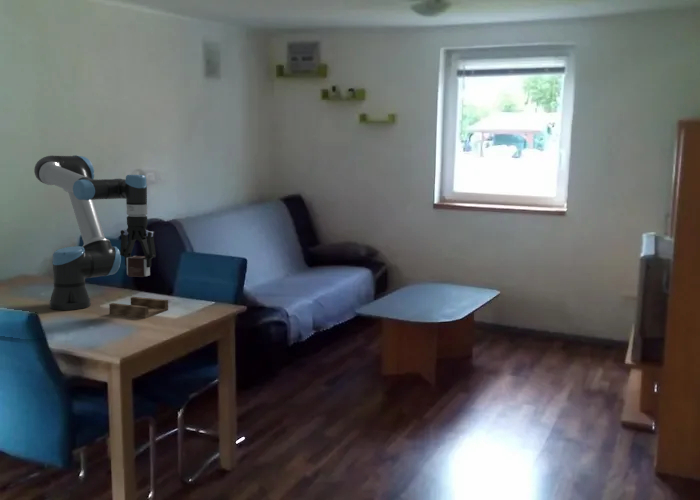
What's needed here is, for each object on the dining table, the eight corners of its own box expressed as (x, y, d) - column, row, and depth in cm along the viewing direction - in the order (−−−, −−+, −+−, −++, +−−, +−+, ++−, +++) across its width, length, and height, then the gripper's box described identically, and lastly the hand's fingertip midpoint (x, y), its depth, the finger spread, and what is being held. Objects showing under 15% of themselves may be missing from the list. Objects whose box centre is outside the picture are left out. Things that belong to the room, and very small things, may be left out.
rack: (109, 314, 262) (109, 304, 261) (133, 306, 276) (133, 296, 275) (145, 318, 256) (145, 307, 256) (168, 310, 271) (168, 300, 270)
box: (143, 277, 261) (143, 258, 260) (127, 276, 261) (127, 257, 260) (148, 274, 267) (148, 256, 266) (133, 274, 267) (132, 255, 266)
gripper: (108, 215, 260) (110, 274, 264) (153, 217, 254) (154, 278, 257) (121, 213, 268) (122, 271, 271) (165, 215, 261) (166, 275, 264)
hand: (138, 274), depth 264 cm, fingers closed on box, 7 cm apart
